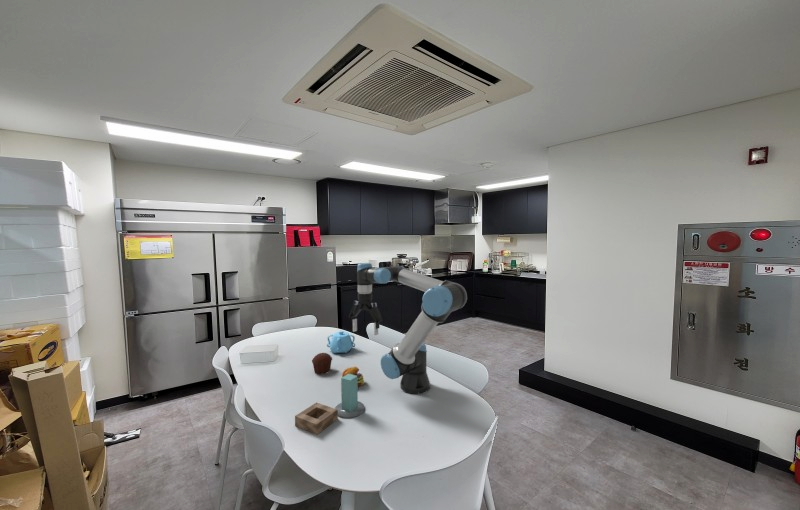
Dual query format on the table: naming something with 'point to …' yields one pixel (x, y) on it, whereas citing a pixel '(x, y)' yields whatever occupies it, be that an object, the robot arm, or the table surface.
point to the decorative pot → (341, 342)
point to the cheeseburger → (354, 372)
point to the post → (349, 392)
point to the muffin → (322, 363)
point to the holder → (309, 421)
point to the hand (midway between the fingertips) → (365, 332)
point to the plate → (348, 414)
